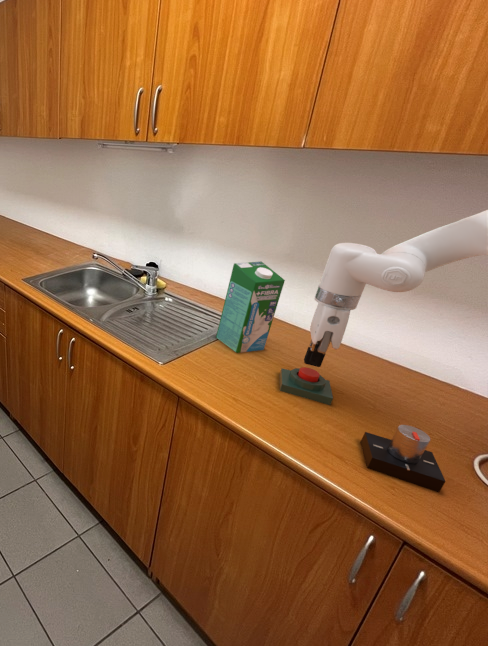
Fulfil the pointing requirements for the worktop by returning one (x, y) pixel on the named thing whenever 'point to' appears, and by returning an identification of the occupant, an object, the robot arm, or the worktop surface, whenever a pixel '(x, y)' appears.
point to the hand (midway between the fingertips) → (311, 363)
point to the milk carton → (249, 306)
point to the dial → (408, 444)
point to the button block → (305, 386)
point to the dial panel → (401, 464)
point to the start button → (308, 374)
